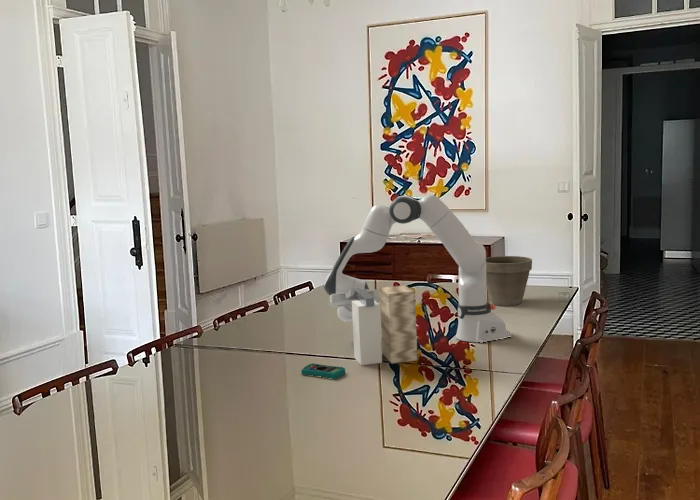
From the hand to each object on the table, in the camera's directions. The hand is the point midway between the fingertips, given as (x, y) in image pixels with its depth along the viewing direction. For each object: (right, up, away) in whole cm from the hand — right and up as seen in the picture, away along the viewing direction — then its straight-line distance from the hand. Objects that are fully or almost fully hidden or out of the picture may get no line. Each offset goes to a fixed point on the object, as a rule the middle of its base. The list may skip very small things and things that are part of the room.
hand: (359, 291), depth 266 cm
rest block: (+3, -25, -5) cm, 26 cm away
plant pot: (+73, -10, +76) cm, 105 cm away
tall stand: (+15, -25, -3) cm, 29 cm away
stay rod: (+1, -3, -5) cm, 6 cm away
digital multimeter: (-13, -29, -18) cm, 36 cm away
